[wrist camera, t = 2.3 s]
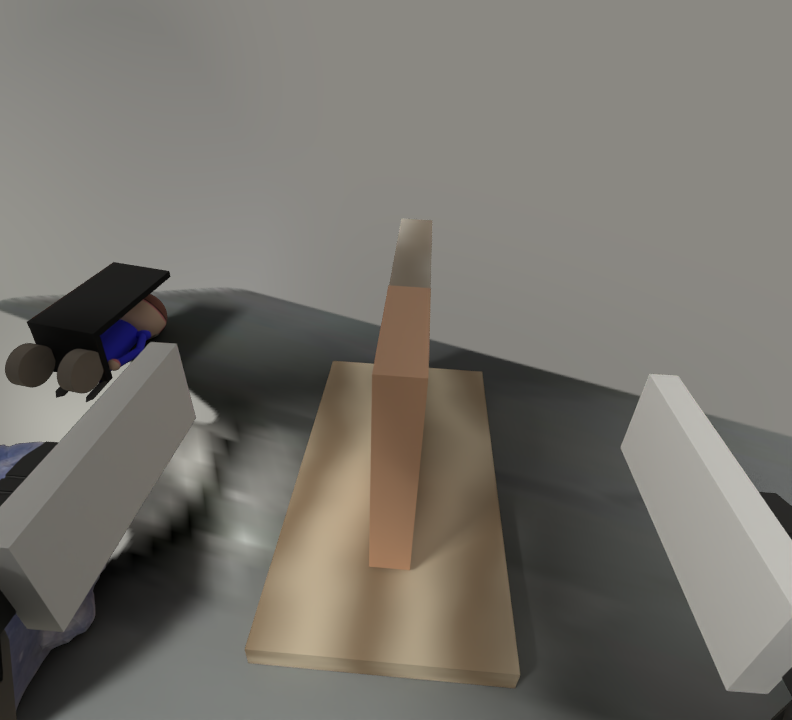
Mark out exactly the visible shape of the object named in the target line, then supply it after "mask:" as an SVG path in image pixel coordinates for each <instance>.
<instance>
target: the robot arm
mask: <svg viewBox="0 0 792 720" xmlns="http://www.w3.org/2000/svg"><path fill="white" fill-rule="evenodd" d="M195 419H196V416H195V412H194V409H193V405H192V401H191V397H190V393H189V389H188V385H187V381H186V377H185V373H184V370H183V366H182V362H181V358H180V354H179V350H178V346H177V344H174V343H158V342H150V343H149V344H148V345H147V346H146V347H145V348H144V350H143V351H142V352H141V353H140V354H139V355H138V356H137V357H136V358H135V359H134V361H133V362H132V363H131V364H130V365H129V366H128V367H127V368H126V369H125V370H124V371H123V373H122V374H121V375H120V376H119V377H118V378H117V379H116V380H115V381H114V383H113V384H112V385H111V386H110V387H109V388H108V389H107V390H106V391H105V392H104V394H103V395H102V396H101V397H100V398H99V399H98V400H97V401H96V402H95V404H93V405H92V407H91V408H90V409H89V410H88V411H87V412H86V413H85V414H84V415H83V416H82V418H81V419H80V420H79V421H78V422H77V423H76V424H75V425H74V426H73V427H72V429H71V430H70V431H69V432H68V433H67V434H66V435H65V436H64V437H63V438H62V440H61V441H60V442H59V443H57V442H45V443H43V444H42V445H40V446H39V447H37V448H35V449H34V450H32V451H31V452H29V453H28V454H26V455H25V456H23V457H22V458H21V459H20V460H19V461H18V462H17V463H16V464H15V465H14V466H13V467H12V468H11V469H10V470H9V471H8V472H7V473H6V474H5V478H2V479H1V480H0V720H17V718H16V707H15V697H14V686H13V675H12V664H11V653H10V643H9V638H8V636H7V633H6V631H5V630H4V629H5V627H6V626H7V625H8V623H9V622H10V621H11V619H12V618H13V616H14V615H15V614H17V616H18V617H19V618H20V620H21V621H22V622H23V624H24V625H25V626H26V628H27V629H35V630H46V631H57V632H64V631H65V629H66V628H67V626H68V624H69V623H70V621H71V620H72V618H73V616H74V615H75V613H76V611H77V610H78V608H79V607H80V605H81V603H82V602H83V600H84V599H85V597H86V595H87V594H88V592H89V590H90V589H91V587H92V586H93V584H94V582H95V581H96V579H97V577H98V576H99V574H100V573H101V571H102V569H103V568H104V566H105V565H106V563H107V561H108V560H109V558H110V556H111V555H112V553H113V552H114V550H115V548H116V547H117V545H118V543H119V542H120V540H121V539H122V537H123V535H124V534H125V532H126V531H127V529H128V527H129V526H130V524H131V522H132V521H133V519H134V518H135V516H136V514H137V513H138V511H139V509H140V508H141V506H142V505H143V503H144V501H145V500H146V498H147V497H148V495H149V493H150V492H151V490H152V488H153V487H154V485H155V484H156V482H157V480H158V479H159V477H160V475H161V474H162V472H163V471H164V469H165V467H166V466H167V464H168V462H169V461H170V459H171V458H172V456H173V454H174V453H175V451H176V450H177V448H178V446H179V445H180V443H181V441H182V440H183V438H184V437H185V435H186V433H187V432H188V430H189V428H190V427H191V425H192V424H193V422H194V420H195ZM620 448H621V450H622V452H623V455H624V457H625V459H626V462H627V464H628V466H629V468H630V471H631V473H632V475H633V478H634V480H635V482H636V484H637V487H638V489H639V491H640V494H641V496H642V498H643V501H644V503H645V505H646V507H647V510H648V512H649V514H650V517H651V519H652V521H653V523H654V526H655V528H656V530H657V533H658V535H659V537H660V539H661V542H662V544H663V546H664V549H665V551H666V553H667V556H668V558H669V560H670V562H671V565H672V567H673V569H674V572H675V574H676V576H677V578H678V581H679V583H680V585H681V588H682V590H683V592H684V594H685V597H686V599H687V601H688V604H689V606H690V608H691V611H692V613H693V615H694V617H695V620H696V622H697V624H698V627H699V629H700V631H701V633H702V636H703V638H704V640H705V643H706V645H707V647H708V649H709V652H710V654H711V656H712V659H713V661H714V663H715V665H716V668H717V670H718V672H719V675H720V677H721V679H722V682H723V684H724V686H725V688H726V691H736V692H748V693H759V694H768V693H769V692H770V691H771V690H772V689H773V688H774V687H775V686H776V685H777V684H778V683H779V682H780V681H781V680H782V679H783V681H784V683H785V684H786V686H787V688H788V690H789V692H790V694H791V696H792V506H791V505H790V504H788V503H787V502H786V501H785V500H784V499H782V498H781V497H780V496H779V495H777V494H776V493H765V492H758V491H757V489H756V488H755V486H754V485H753V483H752V482H751V480H750V479H749V478H748V476H747V475H746V473H745V472H744V470H743V469H742V467H741V466H740V465H739V463H738V462H737V460H736V459H735V457H734V456H733V454H732V453H731V452H730V450H729V449H728V447H727V446H726V444H725V443H724V441H723V440H722V439H721V437H720V436H719V434H718V433H717V431H716V430H715V428H714V427H713V426H712V424H711V423H710V421H709V420H708V418H707V417H706V415H705V414H704V413H703V411H702V410H701V408H700V407H699V405H698V404H697V402H696V401H695V400H694V398H693V397H692V395H691V394H690V392H689V391H688V389H687V388H686V387H685V385H684V384H683V382H682V381H681V379H680V378H679V377H678V376H676V375H660V374H649V376H648V378H647V381H646V384H645V386H644V389H643V391H642V394H641V396H640V399H639V401H638V404H637V406H636V409H635V412H634V414H633V417H632V419H631V422H630V424H629V427H628V430H627V432H626V435H625V437H624V440H623V442H622V445H621V447H620ZM771 720H792V700H791V701H790V702H789V703H788V704H787V705H786V706H785V707H784V708H783V709H781V710H780V711H779V712H778V713H777V714H776V715H775V716H774V717H773V718H772V719H771Z"/></svg>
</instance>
